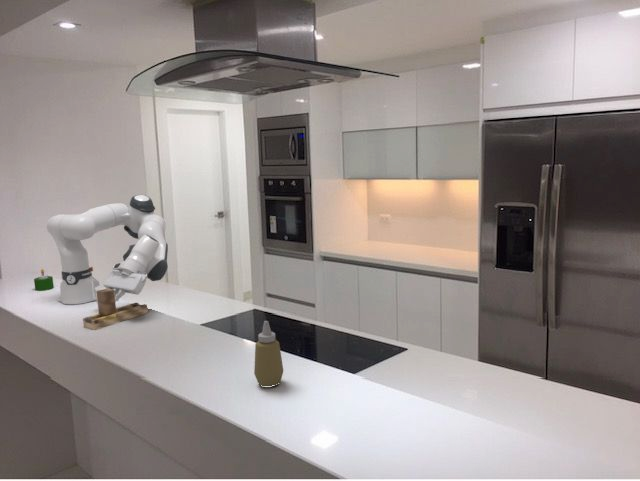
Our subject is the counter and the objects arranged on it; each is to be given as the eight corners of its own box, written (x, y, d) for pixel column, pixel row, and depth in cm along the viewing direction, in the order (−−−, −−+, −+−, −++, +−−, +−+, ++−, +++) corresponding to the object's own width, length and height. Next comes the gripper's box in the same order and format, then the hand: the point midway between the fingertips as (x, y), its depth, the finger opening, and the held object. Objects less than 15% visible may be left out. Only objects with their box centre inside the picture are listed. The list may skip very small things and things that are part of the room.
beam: (136, 310, 227) (136, 302, 226) (147, 312, 223) (146, 304, 222) (83, 327, 207) (82, 318, 207) (94, 330, 203) (93, 321, 203)
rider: (109, 314, 215) (106, 288, 213) (116, 316, 212) (113, 289, 210) (99, 317, 211) (96, 291, 209) (106, 319, 209) (103, 292, 207)
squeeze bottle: (251, 390, 147) (247, 326, 144) (258, 377, 155) (255, 316, 152) (280, 390, 146) (277, 326, 143) (286, 378, 154) (283, 316, 151)
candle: (38, 287, 274) (35, 268, 273) (55, 286, 276) (53, 266, 274) (32, 291, 266) (30, 271, 264) (51, 290, 268) (48, 270, 266)
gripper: (154, 277, 215) (136, 307, 209) (121, 272, 227) (103, 301, 221) (143, 268, 211) (124, 299, 205) (111, 264, 222) (92, 293, 216)
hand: (113, 300), depth 213 cm, fingers closed
